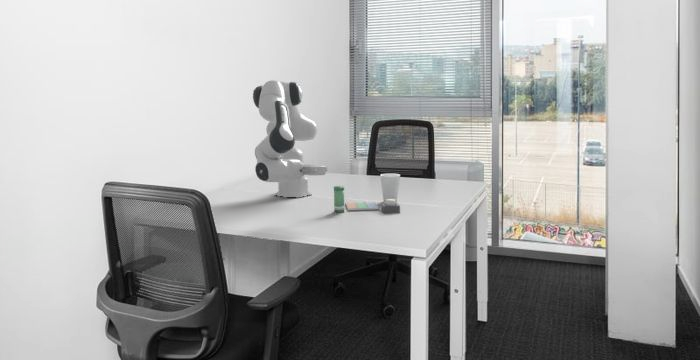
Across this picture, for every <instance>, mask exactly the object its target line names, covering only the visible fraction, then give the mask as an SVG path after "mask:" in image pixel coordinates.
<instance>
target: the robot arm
mask: <svg viewBox="0 0 700 360" xmlns="http://www.w3.org/2000/svg"><path fill="white" fill-rule="evenodd" d="M302 99H303V90H302V88H301V86H300V84H299V83H297V82H295V81H294V82H293V81H290V82H285V81H278V80H273V79H272V80H271V79H270V80H268V81H266V82H265V83H264V84H263V85H260V86H257V87H255V88H254V89H253V93H252V101H253V103H254V106H255V107H256V108H257V109H258V111H259V112H258V113H259V115H260V116H261V118H263V120H265V121H267V122H268V123H267V126H266V128H265V130H266V135H267V136H266V137H264V139H263V140H261V142H259V144H257V145H256V147H255V149H254V155H255V158H256V165H255V173H256V177H257V178H258V179H259V180H260V181H263V182H266V183H278V184H277V185H278V188H277V190H278V191H277V192H276V193H274V196H275V195H277V196H276V197H280V196H283V197H282V198H287V197H296V198H303V196H304V197H308V196H313V193H312V192H311V190H309V182H308V178H307V177H306V176H325V175H326V174H327V173H326V172H328V167H326V166H325V165H317V164H306V163H304V153H303V151H302V150H301V149H299V148H298V147H296V146H295V145H296V144H295V143H296V142H305V141H311V140H314V139H315V138H316V136H317V135H318V126H317V124H316V122H315V120H312V119H310V118H308V117H306V116H305V115H303V113H302V112H301V111H300V109H299V107H298V105H300V104H301V102H302ZM307 195H308V196H307Z"/></svg>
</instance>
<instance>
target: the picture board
mask: <svg viewBox="0 0 700 360" xmlns="http://www.w3.org/2000/svg"><path fill="white" fill-rule="evenodd" d="M344 206H345V207H346V210H347V211H348V212H368V211H369V212H373V211H374V212H375V211H380V210H381V209H380V207H379V206H378V205H377V203H375V202H346V203H345V202H344Z"/></svg>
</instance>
